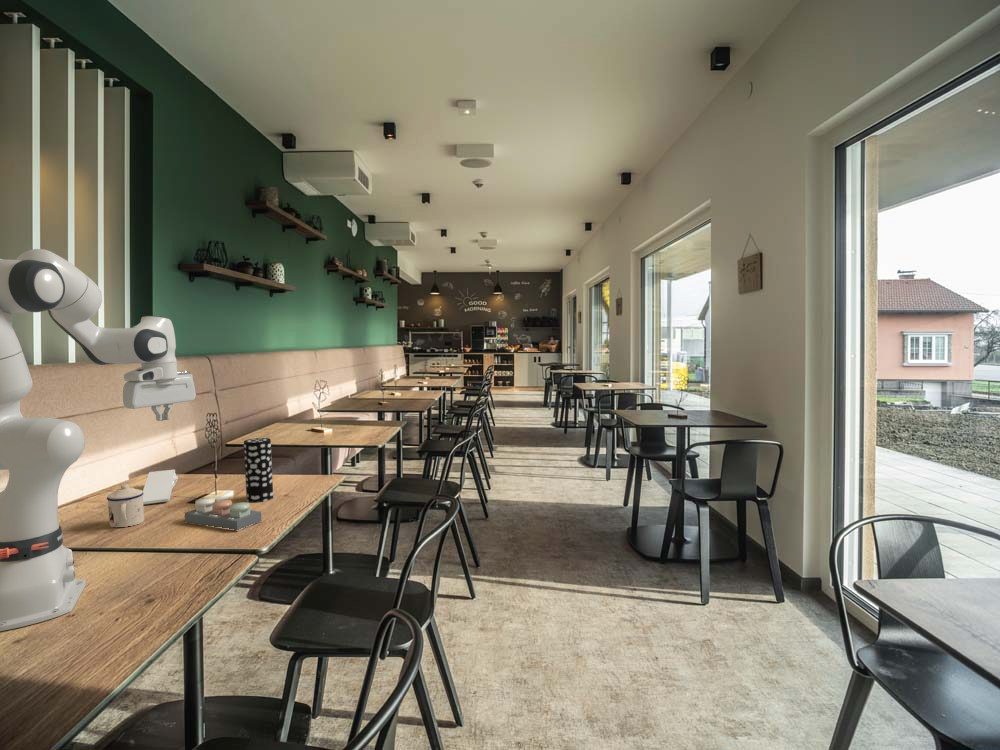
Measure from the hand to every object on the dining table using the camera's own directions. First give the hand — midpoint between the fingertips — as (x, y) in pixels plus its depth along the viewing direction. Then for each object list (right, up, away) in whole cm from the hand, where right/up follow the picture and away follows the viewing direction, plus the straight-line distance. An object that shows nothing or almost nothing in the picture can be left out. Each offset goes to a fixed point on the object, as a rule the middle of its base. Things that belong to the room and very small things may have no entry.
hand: (163, 420), depth 165 cm
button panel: (+16, -31, +4) cm, 35 cm away
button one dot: (+9, -29, +7) cm, 31 cm away
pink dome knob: (+16, -30, +4) cm, 34 cm away
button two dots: (+22, -30, +1) cm, 37 cm away
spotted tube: (+17, -29, +27) cm, 43 cm away
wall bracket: (-22, -29, +35) cm, 50 cm away
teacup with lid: (-12, -31, +3) cm, 34 cm away
